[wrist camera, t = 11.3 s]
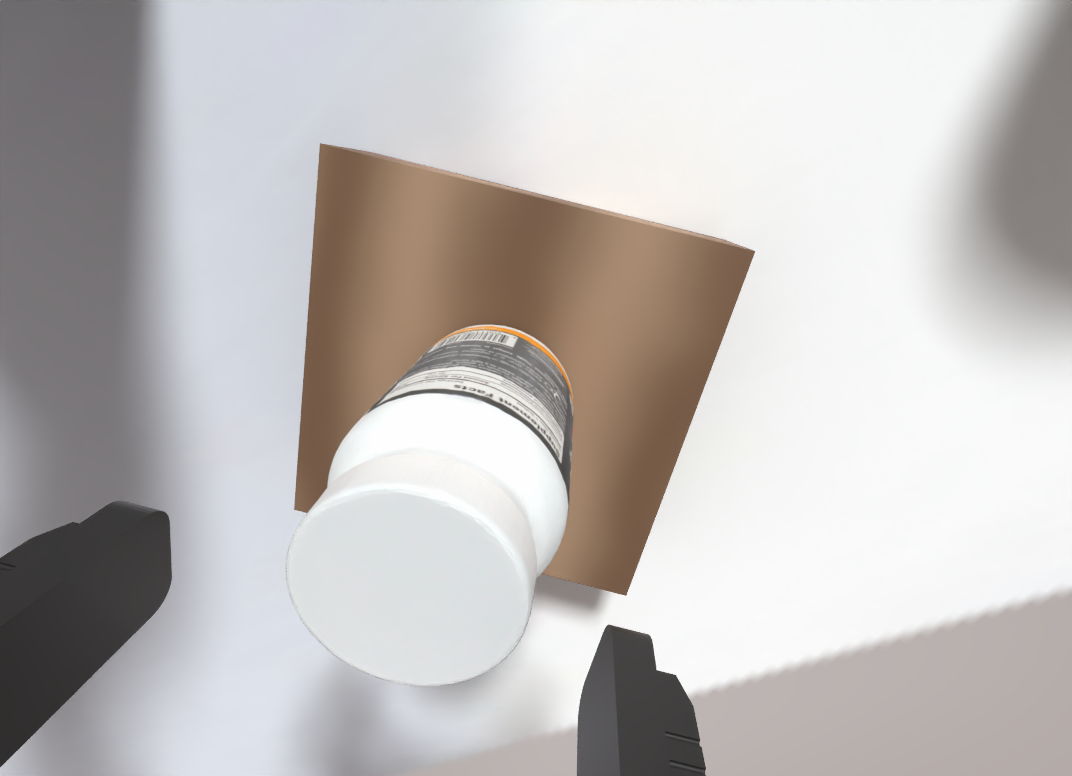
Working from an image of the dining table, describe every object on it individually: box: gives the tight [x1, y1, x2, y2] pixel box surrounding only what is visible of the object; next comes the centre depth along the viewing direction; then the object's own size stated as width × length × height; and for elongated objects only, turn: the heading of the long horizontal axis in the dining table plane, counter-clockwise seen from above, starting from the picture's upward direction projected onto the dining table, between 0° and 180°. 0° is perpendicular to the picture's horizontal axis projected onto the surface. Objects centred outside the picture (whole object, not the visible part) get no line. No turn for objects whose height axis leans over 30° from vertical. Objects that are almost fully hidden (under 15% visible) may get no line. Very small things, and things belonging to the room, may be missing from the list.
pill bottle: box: [286, 325, 574, 687], centre depth 14 cm, size 6×6×10 cm
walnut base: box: [294, 143, 755, 595], centre depth 21 cm, size 14×14×4 cm
